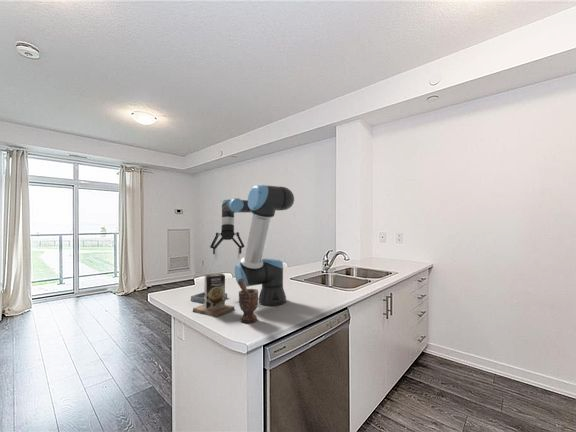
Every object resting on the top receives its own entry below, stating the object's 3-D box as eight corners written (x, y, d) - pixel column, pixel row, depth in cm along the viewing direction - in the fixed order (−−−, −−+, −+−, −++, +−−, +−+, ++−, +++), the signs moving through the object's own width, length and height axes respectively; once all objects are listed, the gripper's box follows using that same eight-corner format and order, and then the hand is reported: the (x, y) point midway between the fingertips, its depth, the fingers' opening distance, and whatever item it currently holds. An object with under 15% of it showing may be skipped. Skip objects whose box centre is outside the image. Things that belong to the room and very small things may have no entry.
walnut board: (234, 309, 135) (234, 306, 135) (217, 317, 124) (217, 313, 124) (210, 304, 142) (210, 301, 143) (192, 311, 132) (192, 308, 132)
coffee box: (206, 310, 129) (206, 276, 129) (203, 306, 134) (203, 274, 134) (225, 307, 133) (225, 275, 133) (222, 304, 138) (222, 272, 139)
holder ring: (227, 297, 155) (227, 293, 155) (209, 304, 143) (209, 299, 143) (209, 294, 162) (209, 290, 162) (190, 300, 150) (190, 296, 150)
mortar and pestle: (256, 327, 113) (256, 279, 113) (235, 327, 113) (235, 279, 113) (259, 317, 124) (259, 273, 124) (240, 317, 124) (240, 273, 124)
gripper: (248, 225, 170) (248, 259, 166) (208, 226, 168) (207, 260, 164) (247, 223, 162) (247, 258, 158) (205, 224, 161) (204, 260, 157)
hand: (227, 259), depth 161 cm, fingers open, 13 cm apart
